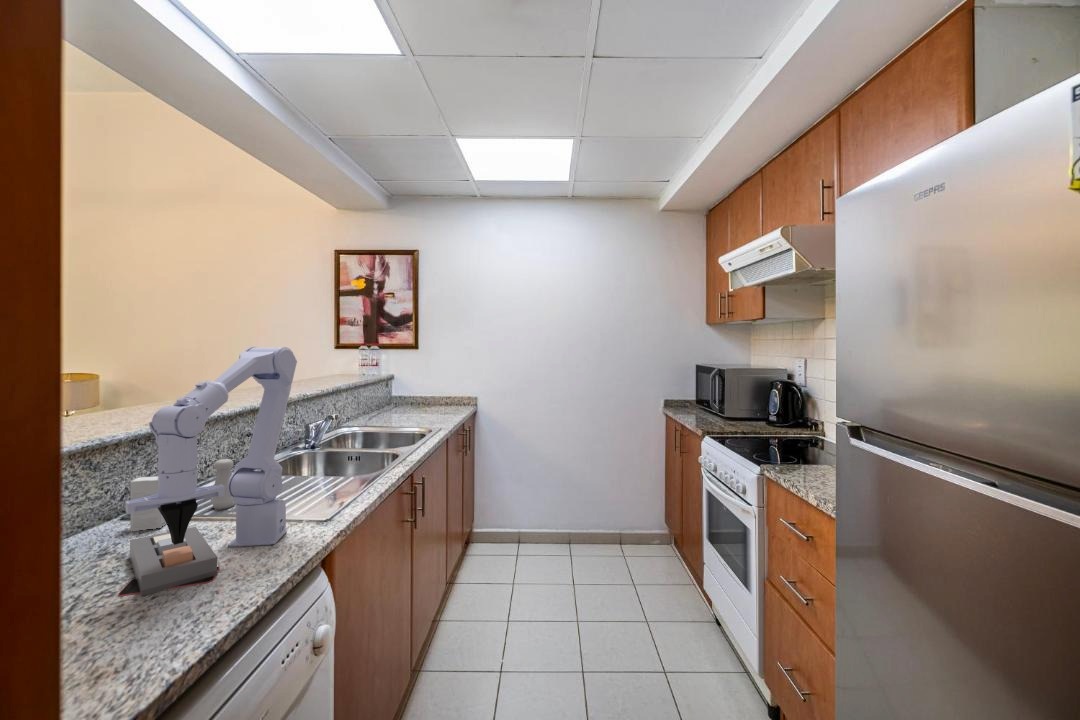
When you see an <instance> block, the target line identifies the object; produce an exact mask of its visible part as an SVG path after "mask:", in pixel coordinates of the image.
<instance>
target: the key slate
mask: <svg viewBox="0 0 1080 720" xmlns="http://www.w3.org/2000/svg"><path fill="white" fill-rule="evenodd" d="M183 546H186V540H185V538H184V542H183V543H180V544H176V545H174V544H173V543H172V540H171V538H168V539H163V540H158V555H162V551H166V550H170V549H175V548H179V547H183Z"/></svg>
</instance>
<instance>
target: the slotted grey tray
mask: <svg viewBox="0 0 1080 720" xmlns="http://www.w3.org/2000/svg"><path fill="white" fill-rule="evenodd" d="M166 534H170V531H168V532H162V533H158V534H154V535H148V536H143V537H138V538H133V539H130V540H129V558H130V563H131V565H132V569H133V573H134V576H135V578H136V579H137V583H138V586H139V590H140V594H139V595H140V597H145V596H148V595H151V594H155V593H158V592H162V591H166V589H167V590H169V589H168V588H171V587H175V586H179V585H182V584H186V583H190V582H193V581H197V580H200V579H204V578H208V577H211V576H215V575H216V577H217V576H218V574H217V567H218V556H217V555H216V553H215V552H214V551H213V548H211V546H210V545H209V543H208V542H207V541H206V539H205V537H203V535H202V534H201V532H200V531H199V529H198V528H197V526H192V527H187V530H186V533H185V537H184V538H185V540H186V546H188V545H189V546H190V548H191V549H192V551H193V560H192V561H188V562H184V563H180V564H176V565H172V566H168V567H163V565H162V555H158V544H156V545H153V537H157V536H161V535H166Z"/></svg>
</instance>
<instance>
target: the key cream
mask: <svg viewBox="0 0 1080 720" xmlns="http://www.w3.org/2000/svg"><path fill="white" fill-rule="evenodd" d="M168 538H171V535H170V534H166V535H161V536H157V537H153V545H156V544H158V540H163V539H168Z"/></svg>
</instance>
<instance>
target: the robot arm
mask: <svg viewBox="0 0 1080 720" xmlns="http://www.w3.org/2000/svg"><path fill="white" fill-rule="evenodd" d="M297 363H298V360H297V358H296V356H295V354H294V352H293V351H292V349H291V348H289V347H287V346H281V347H267V346H266V347H262V346H261V347H259V346H258V347H257V346H249V347H248V348H246V349H245V350H244V351H241V352H240V353H239V356H238V359H237V360H236V361H235V362H234V363H233V364H231V365H230V366H229V368H227V369H226V370H225V371H224V372H223V373H221V375H219V376H218V377H217V378H216V379H215V380H214V381H212V380H205V381H199V382H197V383H196V384H195V388H193V389H192V390H191V391H189V392H188V393H186V395H184V396H183V397H180V398H178V399H176V401H175V403H174V404H173V405H166V406H165V405H164V406H163V407H161V408H160V409H158V410H157V411H156V412H155V413H154V415H153V417H152V419H151V421H149V422H148V424H149V425H148V426H149V429H150V431H151V432H152V434H153V435H154V436H155V437H154V438H155V444H156V445H157V446H158V447H157V448H158V450H157V453H158V454H157V461H158V463H157V472H158V473H157V474H158V475H157V476H158V494H156V495H152V496H147V497H143V498H139V499H135V500H126V501H125V514H127V515H131V514H132V513H135V512H137V511H143V510H148V509H153V508H158V510H159V511H160V513H161V514H162V516H163V518H164V520H165V522H166V525H167V528H168V532H170V535H171V540H172V543H173V544H174V545H176V544H180V543H183V542H184V537H185V533H186V530H187V528H189V525H190V522H191V520H192V519H193V516H194V515H195V513H196V511H197V509H198V507H199V505H198V504H199V503H198V502H197V501H200V500H206V499H211V497H222V496H224V486H223V485H216V486H214V485H211V486H201V487H197V486H198V483H197V482H198V480H197V479H198V473H197V472H198V465H197V464H198V448H197V447H198V434H201V433H202V432H203V431H204V429H205V427H206V422H207V421H208V420H209V418H210V416H212V415H213V414H214V413H216V412H217V410H219V409H220V408H221V407H222V406H223V405H225V404H226V403H227V402H228V400H229V393H230V392H232V391H233V390H235V389H236V388H238V387H239V386H240V385H241V384H243V383H245V382H246V381H247V380H248V379H250V378H252V379H254V380H255V381H256V383H258V384H259V385H261V386H262V388H263V394H262V398H261V402H260V406H259V409H258V413H257V417H256V421H255V425H254V429H253V434H252V437H251V440H250V445H249V448H248V452H247V455H246V456H245V457H244V458H242V459H241V460H240V461H238V462H236V464H235V467H234V470H233V471H232V475H231V476H230V478H229V480H228V483H227V491H228V494H229V495H230V496H231V497H233V502H234V503H235V538H233V540H232V541H230V542H229V543H228V544H227V547H228V548H231V547H232V548H234V547H250V546H252V547H253V546H266V545H267V546H268V545H269V546H270V545H275V544H276V543H277V542H278V541H279V540H280V539H281V538H282V537H283V536H284V535H285V534H286V533H287V532H288V530H287V529H286V528H287V527H286V526H287V525H286V524H287V523H286V522H287V518H286V517H287V516H286V515H287V514H286V513H287V512H286V511H287V509H286V508H287V507H286V501H285V500H283V499H282V498H281V499H279V498H278V499H277V496H278V495H279V494H280V493H281V490H282V487H283V477H282V474H283V469H284V468H283V466H282V464H280V463H279V462H278V461H277V460H276V459H275V455H276V452H277V447H278V445H279V444H278V443H279V439H280V436H281V435H280V434H281V432H282V428H283V424H284V418H285V414H286V411H287V406H288V401H289V397H290V394H291V389H292V383H293V380H294V375H295V372H296V367H297V365H298V364H297ZM256 470H257V471H256ZM258 470H259V471H258ZM260 470H262V471H260Z"/></svg>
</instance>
